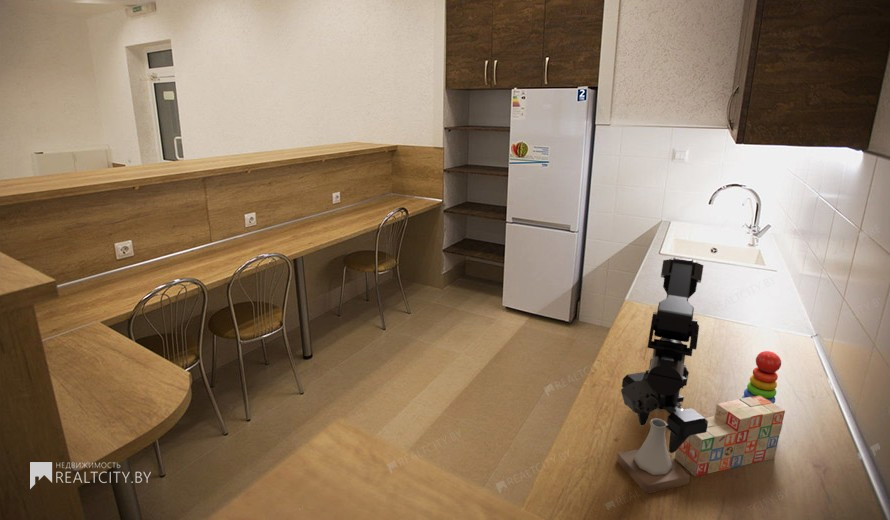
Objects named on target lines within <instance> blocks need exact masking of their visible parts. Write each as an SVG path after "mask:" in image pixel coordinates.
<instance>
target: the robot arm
mask: <svg viewBox="0 0 890 520" xmlns="http://www.w3.org/2000/svg"><path fill="white" fill-rule="evenodd" d="M703 271H704V264H701V263H698V261H697V260H694V259H693V258H684V257H678V256H675V257H673V258H672V257H671V258H669V259H663V260H662V266H661V272H660V277H661V278H663V285H662V287H663V289H664V291H665V293H666V298H664V299H663V300H661V301H659V302H658V305H657V306H658V307H657V310H656V311H655V312H654V311H652V312H653V313H652V317H651V318H652V319H651V324H650V330H649V335H648V342H647V348H648V349H652V351H653V352H652V355H651V356H652V358H650V361H649V366H648V369H647V370H645V372H644V371H642V372H636V373H628V374H626V375H624V377H623V378H622V382H621V387H622V388H621V389H620V392H621V395H622V401H623V403H624V405H625V406H627V407H628V408H629V409H630V410H631V411H632V412H633V413H634V414H637V419H638V424H639V425H640V426H641V427H642V426H646V424H647V421H648V419H649V416H650V414H651V413H652V412H653V411H655V410H658V409H659V410H665V411H666V412H667V413H669V415H667V419H666V423H667V426H666V428H665V429H667V430H668V431H669V440H668V441H669V442H668V453H669V454H673V453H675V452H676V450H677V449H678V448H679V447H680V446H681V445H682V443H683V442H684V441H685V440H686V439H687V438H688V437H689V436H690V435H695V434H700V433H705V432H706V431H707V426H708V421H707V420H706V419H705V418H706V417H704V416H703V415H701V413H699V412H697V411H696V410H695V409H694V408H684V409H683V408H682V407H681V406H682V403H683V402H684V399H685V397H684V396H683V395H681V393H680V391H681V389H684V387H686V386H687V385H688V378H689V373H690V371H689V370H688V368H687V365H685V359H686V356H687V357H692V356H693V350H697V346H698V337H699V330H700V325H699V324H698V320H697V319H696V318H694V310H695V308H694V306H693V305H692V304H691V303H690V302H689V299H690V298H691V297H692V296H693V295H694V294H695V293H696V291H697V287H698V286H697V285H698V283H699V284H700V283H701V282H702V280H703V278H702V277H703ZM653 336H655V337H657V338H654V339H653ZM658 338H659V339H658ZM683 342H684V343H689V346H688V345H687V344H684V343H683ZM647 348H646V349H647Z"/></svg>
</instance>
